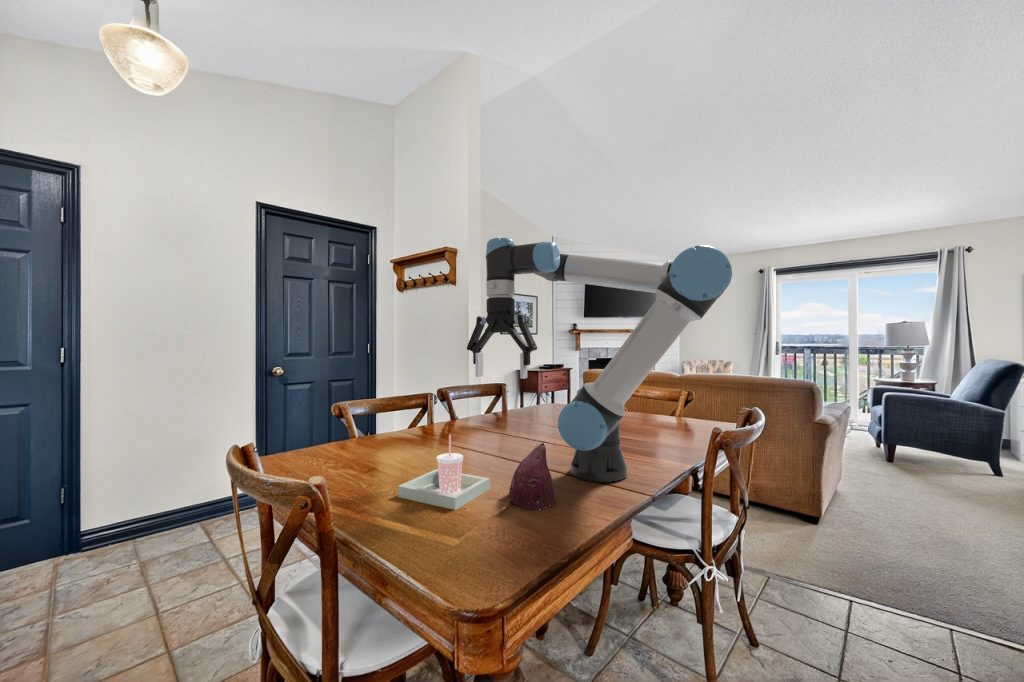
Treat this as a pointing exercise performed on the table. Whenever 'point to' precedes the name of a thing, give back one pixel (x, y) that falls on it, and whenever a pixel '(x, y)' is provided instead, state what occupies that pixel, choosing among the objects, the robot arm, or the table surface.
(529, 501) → the vegetable
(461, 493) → the tray
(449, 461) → the beverage cup
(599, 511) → the table surface
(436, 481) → the ball
